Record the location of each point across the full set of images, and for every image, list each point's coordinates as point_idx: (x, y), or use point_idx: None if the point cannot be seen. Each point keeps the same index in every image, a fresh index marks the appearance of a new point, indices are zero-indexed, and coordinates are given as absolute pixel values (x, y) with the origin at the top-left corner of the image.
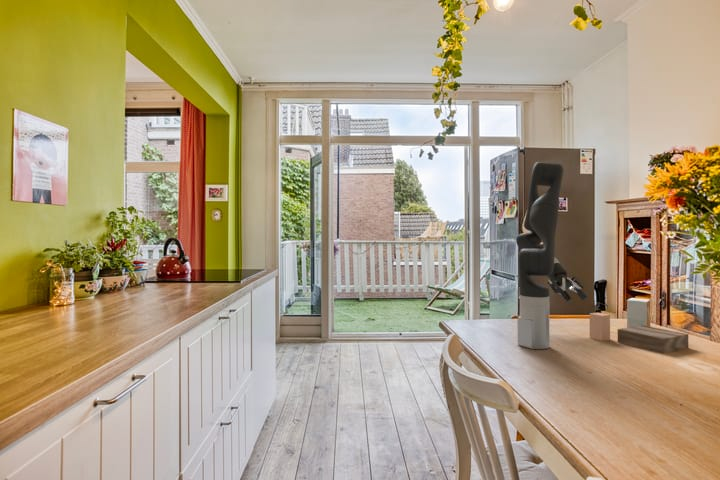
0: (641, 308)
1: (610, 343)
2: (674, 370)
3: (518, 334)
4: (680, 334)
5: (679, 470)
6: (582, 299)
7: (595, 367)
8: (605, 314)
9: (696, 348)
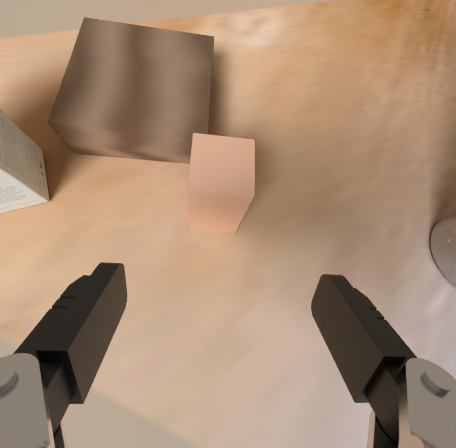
0: None
1: None
2: (310, 38)
3: None
4: (110, 26)
5: None
6: (122, 305)
7: (430, 104)
8: (205, 145)
9: None
